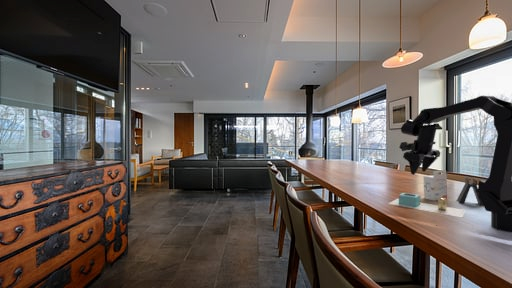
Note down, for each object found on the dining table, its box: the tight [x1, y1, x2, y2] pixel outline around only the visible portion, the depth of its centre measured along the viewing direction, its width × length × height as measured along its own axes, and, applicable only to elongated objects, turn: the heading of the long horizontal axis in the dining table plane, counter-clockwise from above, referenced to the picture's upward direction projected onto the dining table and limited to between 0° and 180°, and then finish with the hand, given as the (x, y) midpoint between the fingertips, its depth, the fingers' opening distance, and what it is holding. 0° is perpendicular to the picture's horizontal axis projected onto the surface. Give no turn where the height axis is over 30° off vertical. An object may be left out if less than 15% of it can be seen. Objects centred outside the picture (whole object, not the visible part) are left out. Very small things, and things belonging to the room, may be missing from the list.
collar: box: [398, 192, 421, 207], centre depth 95 cm, size 6×6×4 cm
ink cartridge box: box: [423, 169, 448, 201], centre depth 103 cm, size 9×5×15 cm, turn 105°
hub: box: [437, 198, 448, 211], centre depth 87 cm, size 3×3×4 cm
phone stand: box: [456, 176, 484, 207], centre depth 95 cm, size 9×6×12 cm, turn 53°
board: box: [388, 192, 467, 218], centre depth 91 cm, size 12×24×6 cm, turn 41°
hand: (418, 172), depth 96 cm, fingers open, 9 cm apart
